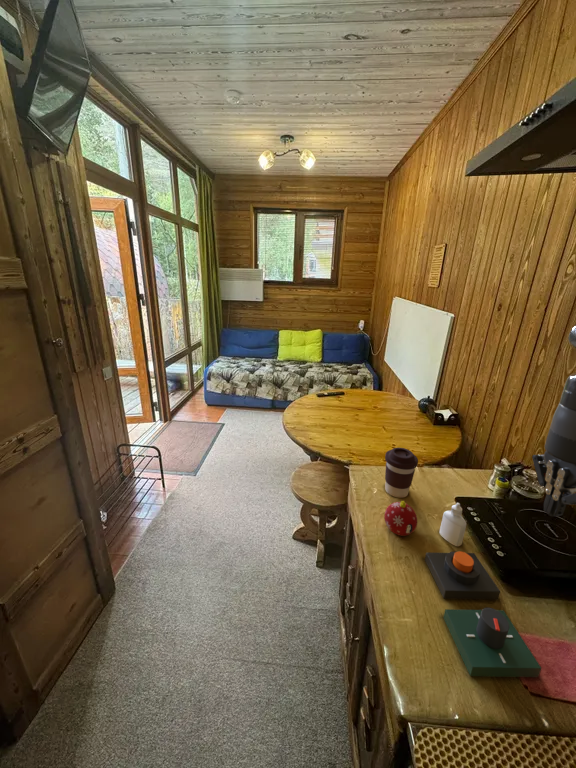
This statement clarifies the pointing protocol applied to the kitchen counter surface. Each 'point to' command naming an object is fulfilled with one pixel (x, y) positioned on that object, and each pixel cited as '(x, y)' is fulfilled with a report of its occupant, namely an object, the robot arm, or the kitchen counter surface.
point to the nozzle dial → (492, 628)
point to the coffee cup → (399, 471)
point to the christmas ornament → (400, 518)
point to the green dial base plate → (485, 659)
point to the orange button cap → (463, 562)
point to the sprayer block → (460, 578)
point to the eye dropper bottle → (453, 525)
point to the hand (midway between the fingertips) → (551, 513)
